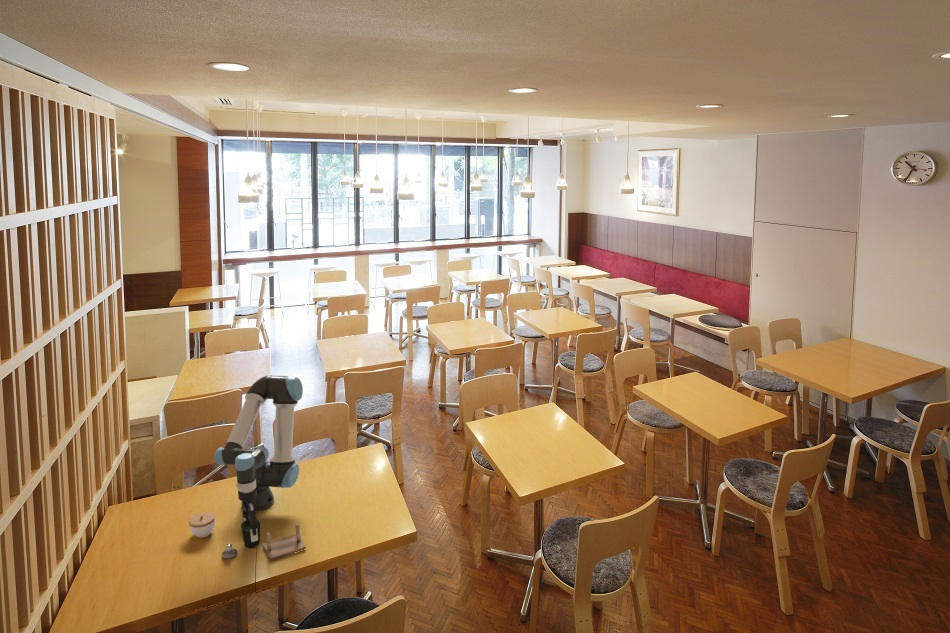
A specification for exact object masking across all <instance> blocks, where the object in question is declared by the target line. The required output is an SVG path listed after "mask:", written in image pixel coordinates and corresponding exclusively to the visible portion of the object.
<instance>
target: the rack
mask: <svg viewBox="0 0 950 633" xmlns="http://www.w3.org/2000/svg"><path fill="white" fill-rule="evenodd" d="M265 540H266V543H263V544H262V545H263V546H262V547H263V549H264V552H265V553H267V554H266V556H267V557H268V560H269V562H270V563H271V562H274V561H278V560H279V559H283V558H286V557H289V556H292V555H294V554H293V553H295V552H298V551H301V550H304V549H307V548H306V546H305V543H304V542H303V540H302V538H301V530H300V524H299V523H295V533H294V534H290V535H287V536H284V537H281V538H278V539H275V540H271V532H266V534H265ZM304 551H305V550H304ZM301 552H302V551H301ZM298 553H299V552H298ZM291 554H292V555H291ZM295 554H296V553H295ZM288 555H289V556H288Z"/></svg>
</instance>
